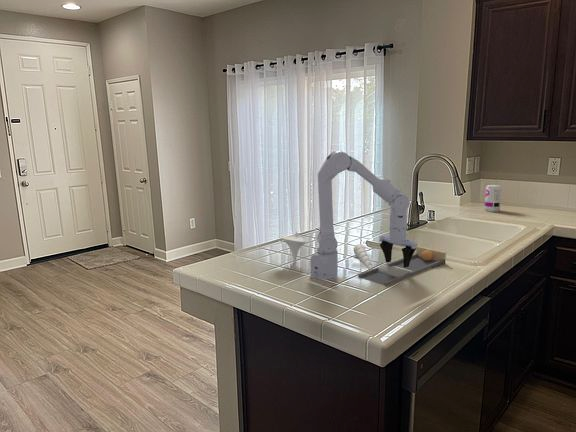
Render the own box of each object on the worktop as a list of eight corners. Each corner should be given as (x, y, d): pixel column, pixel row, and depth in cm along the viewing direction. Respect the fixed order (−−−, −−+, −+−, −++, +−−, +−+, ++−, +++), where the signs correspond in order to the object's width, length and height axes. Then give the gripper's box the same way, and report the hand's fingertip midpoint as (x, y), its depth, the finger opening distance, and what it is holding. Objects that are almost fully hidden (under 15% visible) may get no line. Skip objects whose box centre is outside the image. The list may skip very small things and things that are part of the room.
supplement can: (485, 211, 256) (487, 186, 253) (483, 209, 264) (485, 184, 261) (500, 212, 254) (502, 186, 251) (498, 209, 262) (500, 184, 259)
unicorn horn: (362, 274, 158) (362, 261, 157) (353, 255, 181) (353, 243, 180) (375, 273, 158) (375, 261, 157) (364, 254, 181) (364, 243, 180)
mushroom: (295, 256, 180) (294, 227, 178) (313, 261, 172) (313, 232, 170) (275, 261, 174) (274, 232, 171) (294, 267, 166) (293, 237, 163)
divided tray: (386, 297, 144) (386, 274, 143) (358, 288, 153) (358, 266, 152) (444, 272, 167) (445, 252, 165) (417, 265, 176) (418, 246, 174)
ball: (434, 250, 167) (434, 260, 168) (425, 248, 170) (425, 258, 171) (428, 252, 164) (428, 262, 165) (419, 250, 167) (419, 260, 168)
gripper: (422, 228, 150) (421, 266, 153) (388, 222, 161) (387, 257, 164) (410, 232, 146) (409, 271, 149) (376, 225, 157) (375, 261, 160)
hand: (397, 264), depth 156 cm, fingers open, 7 cm apart
